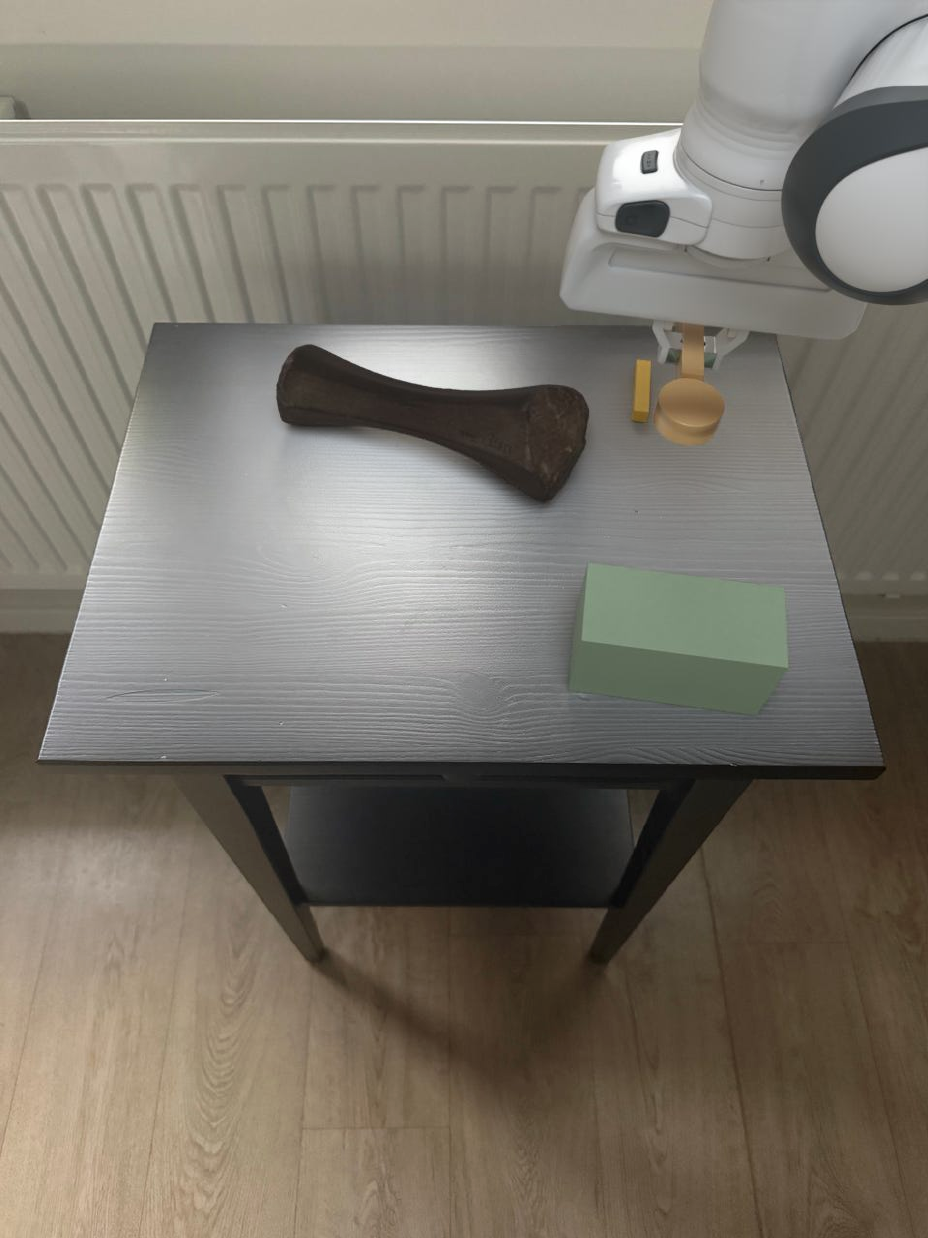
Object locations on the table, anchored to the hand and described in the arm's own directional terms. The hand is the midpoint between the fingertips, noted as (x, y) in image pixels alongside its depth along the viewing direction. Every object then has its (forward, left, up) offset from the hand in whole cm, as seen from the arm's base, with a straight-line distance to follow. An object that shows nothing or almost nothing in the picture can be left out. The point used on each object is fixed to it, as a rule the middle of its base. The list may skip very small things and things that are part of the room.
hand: (686, 361), depth 69 cm
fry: (+1, -15, -18) cm, 23 cm away
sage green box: (-2, +15, -18) cm, 24 cm away
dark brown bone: (+20, -4, -18) cm, 27 cm away
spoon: (0, +1, -1) cm, 1 cm away
